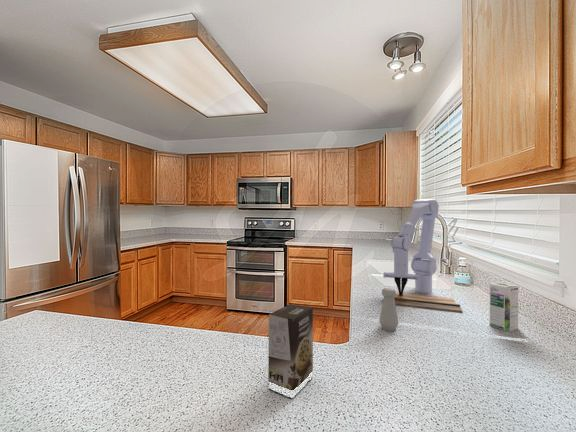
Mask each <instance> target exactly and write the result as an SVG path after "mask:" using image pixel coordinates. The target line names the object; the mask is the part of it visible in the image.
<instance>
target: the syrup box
mask: <svg viewBox="0 0 576 432" xmlns="http://www.w3.org/2000/svg"><path fill="white" fill-rule="evenodd" d="M488 324H489V326H490V327H493V328H495V329H499V330H502V331H505V332H512V331H515V330H518V329H519V285H513V284H510V283H509V284H508V283H504V282H492V283H489V323H488Z"/></svg>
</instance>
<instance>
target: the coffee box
mask: <svg viewBox="0 0 576 432" xmlns="http://www.w3.org/2000/svg"><path fill="white" fill-rule="evenodd" d="M313 312H314V307H311V306H305V305H299V304H293V303H289V304H287V305H285V306H283V307H281V308H278V309H276V310H275V311H273V312H271V313H268V352H267V353H268V365H267V374H268V375H267V377H268V379H267V381H269V382H271V383H274V384H276V385H278V386H281V387H284V388H287V389H289V390H294V389H295V388H296V387H298V386H299V385H300V384H301V383H302V382H303V381H304V380H305V379H306V378H307V377H308V376H309V374H310V373H311V372H312V371H313V372H314V368H313V367H314V363H313V362H314V360H313V359H314V356H313V355H314V345H313V344H314V342H313V341H314V339H313V338H314V334H313V333H314V329H313V328H314V313H313Z"/></svg>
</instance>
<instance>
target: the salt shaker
mask: <svg viewBox="0 0 576 432" xmlns="http://www.w3.org/2000/svg"><path fill="white" fill-rule="evenodd" d="M396 293H397V291H396V290H395V288H392V287H384V288H383V289H382V290H381V295H382V297H383V299H384V300H383V299H382V305H381V309H380V310H381V311H380V315H379V320H378V321H379V324H380V326H381V329H382V330H384V331H386V332H394V331H396V330H397V328H398V327H399V319H398V312H397V307H396V306H397V305H395V300H394V297H395V296H396Z"/></svg>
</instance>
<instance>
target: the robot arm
mask: <svg viewBox="0 0 576 432" xmlns="http://www.w3.org/2000/svg"><path fill="white" fill-rule="evenodd" d="M439 206H440V205H439V203H438V201H437V199H435V198H430V199H429V198H428V199H415V200H413V203H412V204H411V208H412V209H411V210H412V211H411V214H410V216H409V218H408V220H407V222H404V223H403V224H402V226H401V228H400V230H399V232H398V234H397V235H396V236H394V237H393V238H392V240H391V242H390V245H391V248H392V253H393V272H383V275H382V276H383V277H382V278H391V279H394V282H395V284H396V287H397V291H398V293H399V295H401V296H403V293H404V289H405V287H406V285H407V283H408V280H415V281H414V291H415V292H418V293H422V294H432V293H433V275H434V274H435V273H436V271H437V258H436V257H435V256H433V255H432V246H433V245H432V244H433V238H434V237H433V236H434V229H435V222H436V218H438V215H439V208H440V207H439ZM420 220H422V226H421V233H420V241H419V248H418V252H417V253H415V254H414V255H413V256H412V260H411V263H410V269H411V270H412V271H413V273H414V274H413V273H409V251H410V249H411V247H412V241H413V239H412V238H413V237H414V235H415V232H416V230H417V228H416V226H417V224H418V222H419V221H420Z"/></svg>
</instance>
